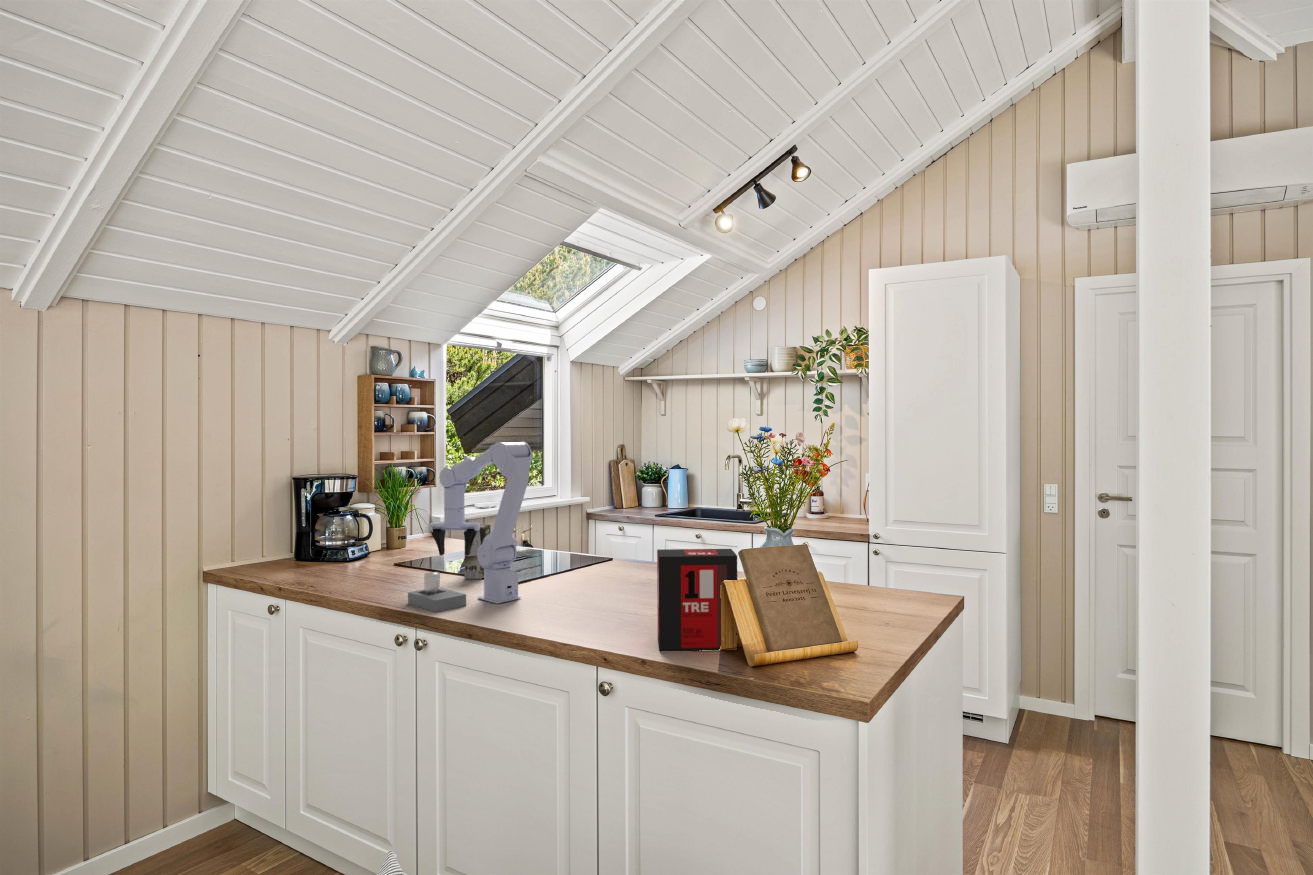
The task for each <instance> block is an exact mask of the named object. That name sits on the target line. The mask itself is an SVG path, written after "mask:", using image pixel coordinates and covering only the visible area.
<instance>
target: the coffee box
mask: <svg viewBox="0 0 1313 875" xmlns="http://www.w3.org/2000/svg"><path fill="white" fill-rule="evenodd" d="M491 526H492V524H480V530H477V534H476V536H475V538H474V540H473V543H472V546H471V550H470V555H465V554H464V579H465V580H466V579H467V580H472V579H473V580H474V579H475V580H483V579H482V578H484V568H482V566H481V565H480V563H479V561H478V558H477V552H478V549H479V547H480V546H481V545H482V543H483V540H484V538H485V537H486V536H488V535H489V534H490V533H491V532H492V530H491ZM465 531H467V530H464V532H465Z"/></svg>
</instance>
